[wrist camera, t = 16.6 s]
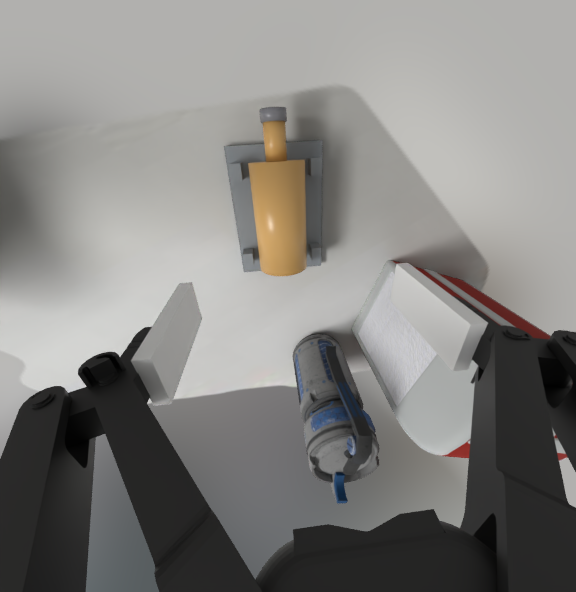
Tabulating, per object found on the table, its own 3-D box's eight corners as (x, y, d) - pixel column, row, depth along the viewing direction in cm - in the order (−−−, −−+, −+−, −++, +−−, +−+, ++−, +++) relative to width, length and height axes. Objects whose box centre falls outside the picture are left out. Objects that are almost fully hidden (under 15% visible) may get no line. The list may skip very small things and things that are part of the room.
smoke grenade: (348, 323, 50) (413, 453, 28) (331, 370, 56) (373, 506, 35) (299, 318, 48) (329, 452, 27) (287, 367, 55) (303, 507, 33)
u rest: (319, 263, 43) (324, 271, 40) (244, 269, 42) (242, 278, 39) (320, 140, 34) (326, 139, 31) (224, 146, 33) (221, 145, 30)
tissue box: (421, 345, 55) (538, 487, 32) (349, 331, 51) (422, 480, 28) (467, 280, 47) (666, 403, 24) (387, 258, 44) (531, 378, 20)
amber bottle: (301, 255, 41) (311, 272, 35) (259, 260, 40) (262, 278, 34) (297, 112, 31) (310, 102, 25) (241, 114, 31) (241, 105, 25)
